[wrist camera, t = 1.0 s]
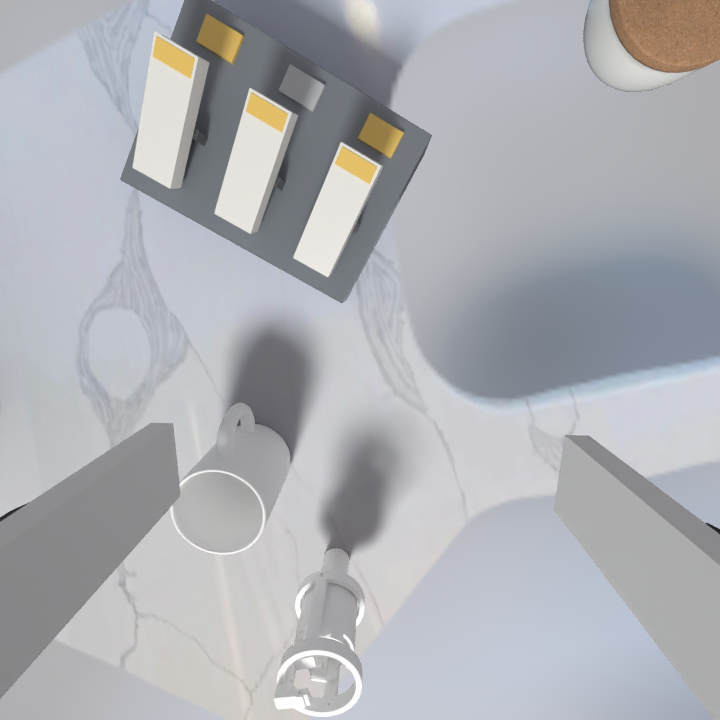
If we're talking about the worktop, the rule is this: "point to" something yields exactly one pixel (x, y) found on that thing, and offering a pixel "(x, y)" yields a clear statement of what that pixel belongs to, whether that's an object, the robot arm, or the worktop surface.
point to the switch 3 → (337, 209)
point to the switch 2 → (255, 161)
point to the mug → (232, 486)
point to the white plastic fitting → (324, 639)
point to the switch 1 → (169, 111)
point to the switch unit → (303, 154)
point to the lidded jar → (650, 41)
